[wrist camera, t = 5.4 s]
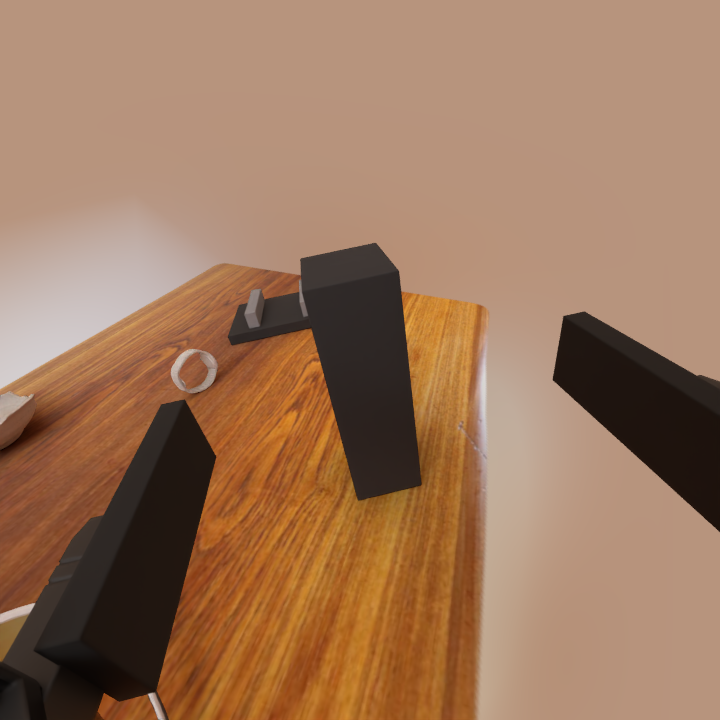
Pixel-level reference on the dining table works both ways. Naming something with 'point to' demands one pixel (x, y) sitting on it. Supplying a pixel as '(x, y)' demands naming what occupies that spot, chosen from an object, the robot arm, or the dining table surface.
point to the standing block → (365, 364)
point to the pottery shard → (14, 416)
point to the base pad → (269, 317)
